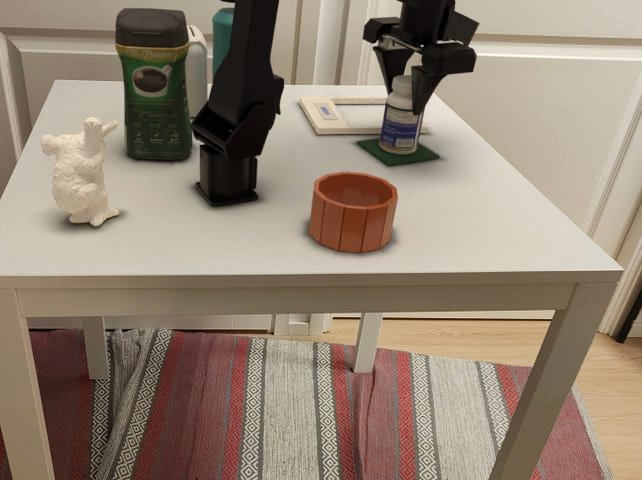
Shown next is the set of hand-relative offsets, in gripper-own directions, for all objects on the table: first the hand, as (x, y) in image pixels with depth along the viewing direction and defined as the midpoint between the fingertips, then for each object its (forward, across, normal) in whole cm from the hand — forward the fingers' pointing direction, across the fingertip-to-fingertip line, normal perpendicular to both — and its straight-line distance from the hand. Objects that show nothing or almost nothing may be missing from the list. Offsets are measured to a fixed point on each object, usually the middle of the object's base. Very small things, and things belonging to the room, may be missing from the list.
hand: (404, 108), depth 95 cm
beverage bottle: (+7, +17, +20) cm, 27 cm away
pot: (+6, -19, +20) cm, 29 cm away
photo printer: (+7, +27, +23) cm, 36 cm away
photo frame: (+6, +14, -2) cm, 16 cm away
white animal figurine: (+7, -6, +48) cm, 49 cm away
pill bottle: (+6, 0, 0) cm, 6 cm away
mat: (+6, 0, 0) cm, 6 cm away
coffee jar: (+7, +11, +34) cm, 36 cm away
